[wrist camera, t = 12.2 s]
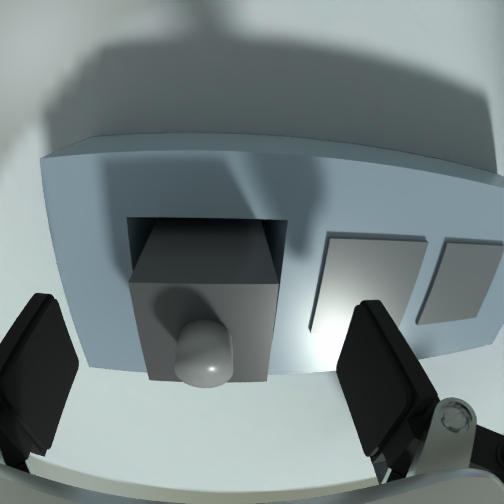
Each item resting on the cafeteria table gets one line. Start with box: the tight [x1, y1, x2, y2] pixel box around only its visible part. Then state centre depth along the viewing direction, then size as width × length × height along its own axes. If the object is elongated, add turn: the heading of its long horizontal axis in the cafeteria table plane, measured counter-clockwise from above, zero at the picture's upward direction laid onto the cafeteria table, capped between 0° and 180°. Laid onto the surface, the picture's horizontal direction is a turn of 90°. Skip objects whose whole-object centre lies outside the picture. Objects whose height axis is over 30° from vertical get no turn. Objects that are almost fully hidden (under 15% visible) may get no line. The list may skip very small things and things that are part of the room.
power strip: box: [40, 133, 504, 375], centre depth 15 cm, size 28×10×5 cm, turn 86°
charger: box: [128, 217, 279, 388], centre depth 12 cm, size 4×4×9 cm
